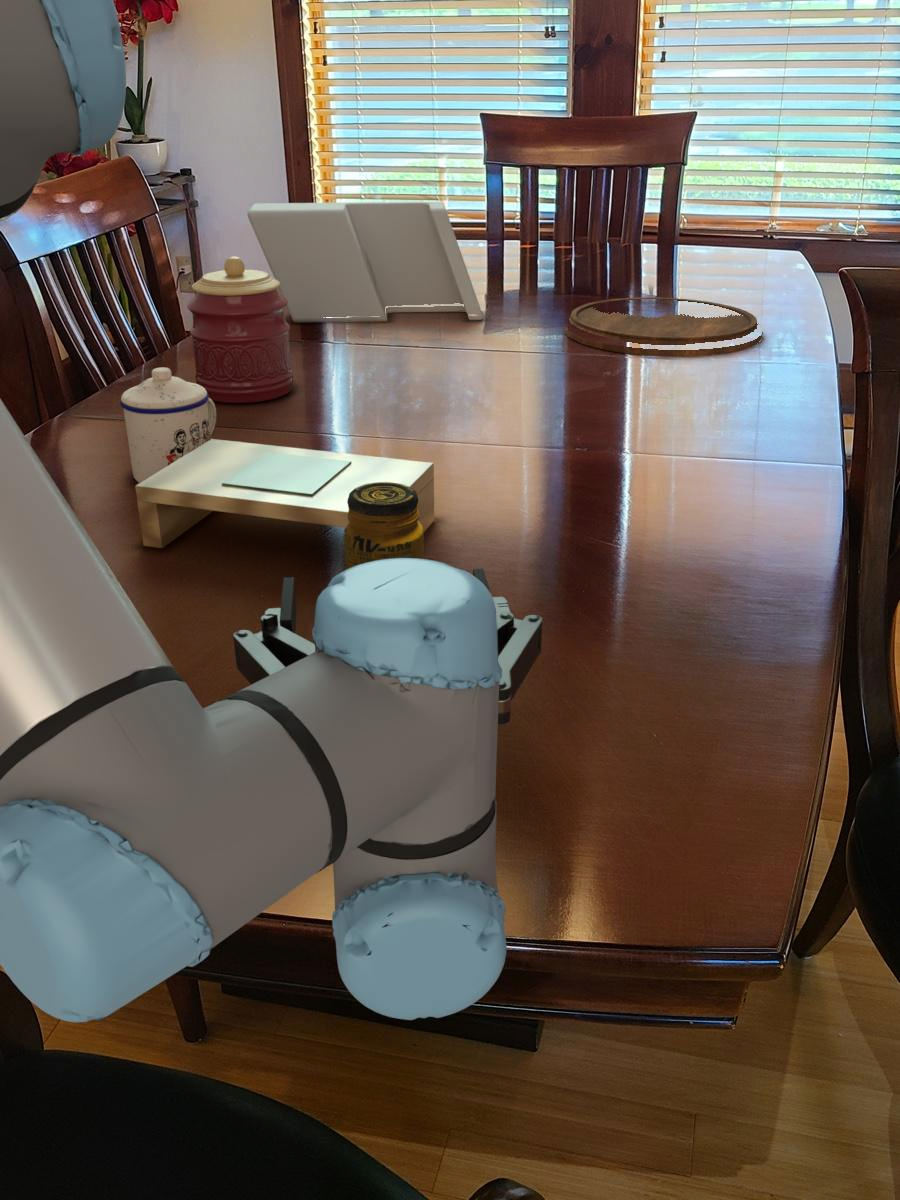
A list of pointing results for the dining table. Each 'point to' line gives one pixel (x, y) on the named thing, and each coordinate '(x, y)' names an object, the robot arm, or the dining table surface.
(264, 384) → the kitchen canister
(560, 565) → the dining table surface
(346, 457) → the oak shelf
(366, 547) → the condiment
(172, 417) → the teacup with lid
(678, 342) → the cutting board
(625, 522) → the dining table surface
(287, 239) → the bracket
